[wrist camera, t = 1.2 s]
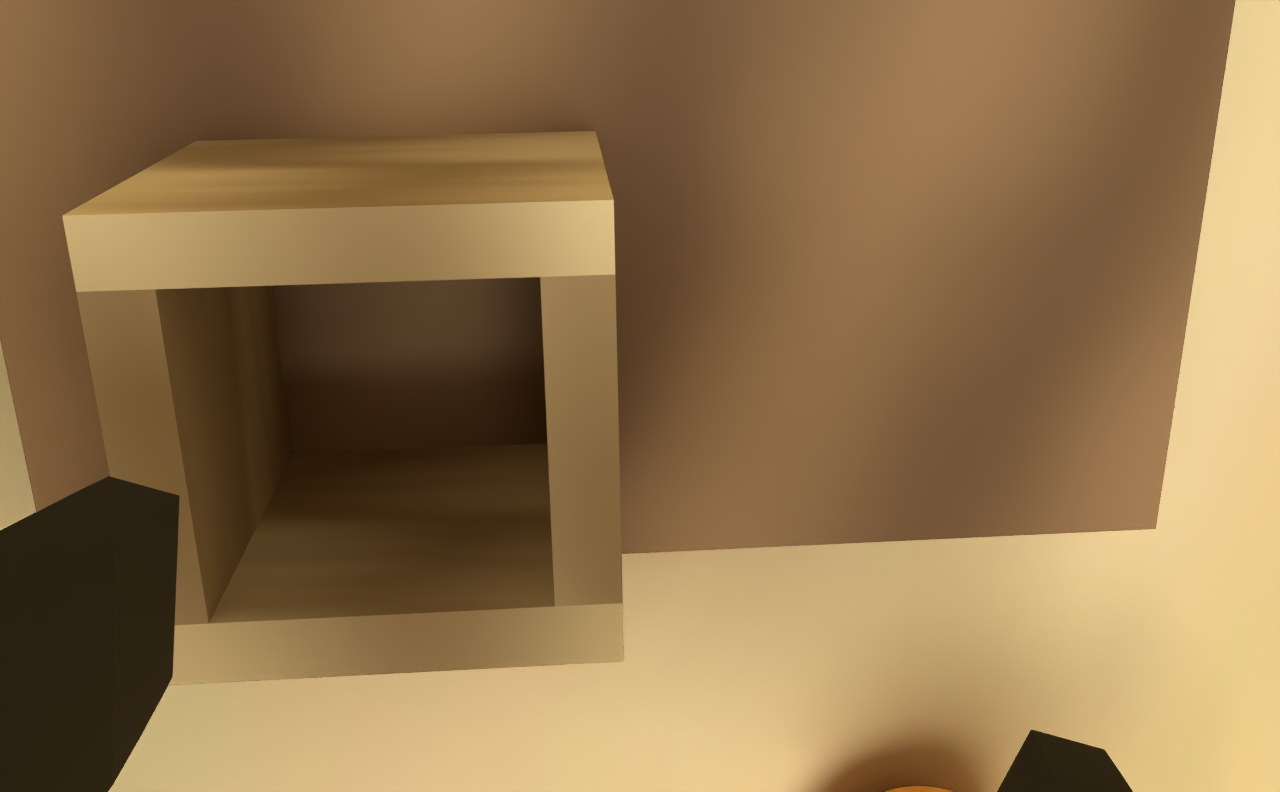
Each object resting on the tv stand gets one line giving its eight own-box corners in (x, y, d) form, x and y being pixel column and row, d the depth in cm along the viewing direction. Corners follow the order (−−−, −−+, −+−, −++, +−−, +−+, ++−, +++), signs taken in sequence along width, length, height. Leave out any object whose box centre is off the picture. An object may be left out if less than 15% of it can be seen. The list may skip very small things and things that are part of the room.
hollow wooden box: (247, 502, 19) (148, 685, 14) (196, 141, 17) (62, 215, 12) (604, 487, 19) (624, 661, 15) (595, 130, 17) (614, 199, 13)
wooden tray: (78, 545, 20) (-70, 734, 15) (-118, -441, 15) (-427, -620, 10) (1123, 497, 21) (1293, 661, 16) (1253, -434, 16) (1549, -595, 12)
